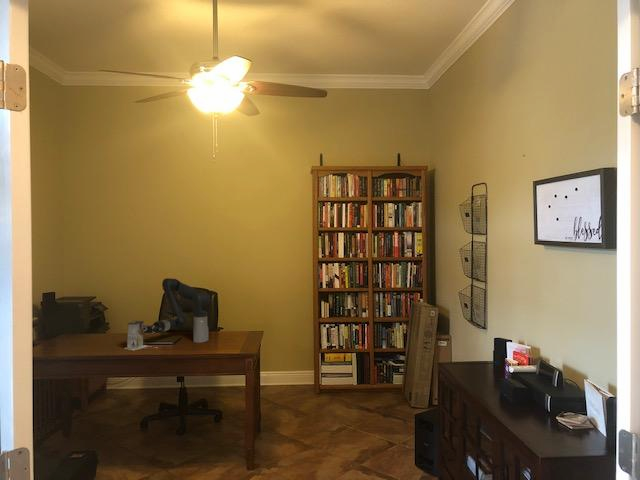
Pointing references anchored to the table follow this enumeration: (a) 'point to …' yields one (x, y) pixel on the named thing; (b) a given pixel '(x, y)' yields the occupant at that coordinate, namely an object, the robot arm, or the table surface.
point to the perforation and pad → (138, 348)
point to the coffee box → (135, 334)
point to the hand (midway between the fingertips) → (142, 330)
